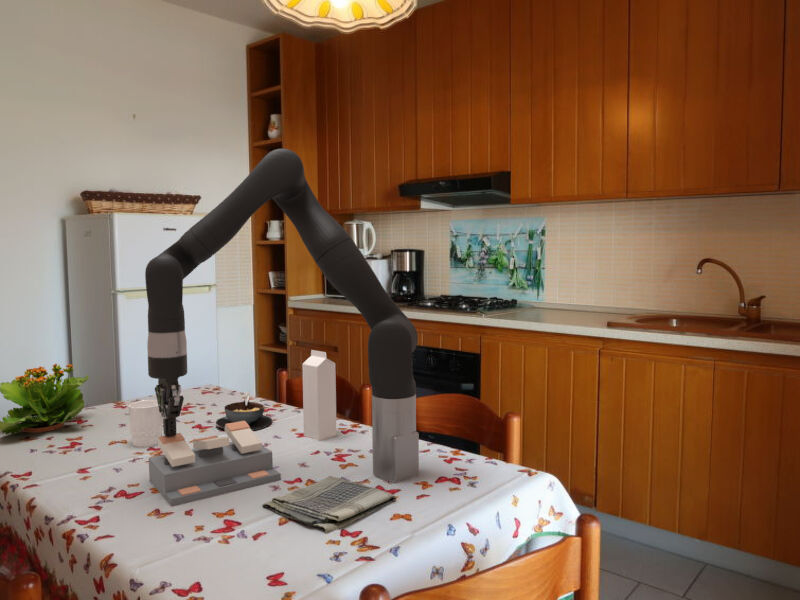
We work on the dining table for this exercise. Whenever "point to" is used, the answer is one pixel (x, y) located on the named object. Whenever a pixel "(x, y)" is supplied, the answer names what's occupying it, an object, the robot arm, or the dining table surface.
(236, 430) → the block
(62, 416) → the potted flower
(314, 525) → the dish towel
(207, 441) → the rocker
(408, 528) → the dining table surface
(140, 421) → the white cup
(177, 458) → the rocker
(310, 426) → the milk
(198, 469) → the switch unit
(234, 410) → the soup bowl
